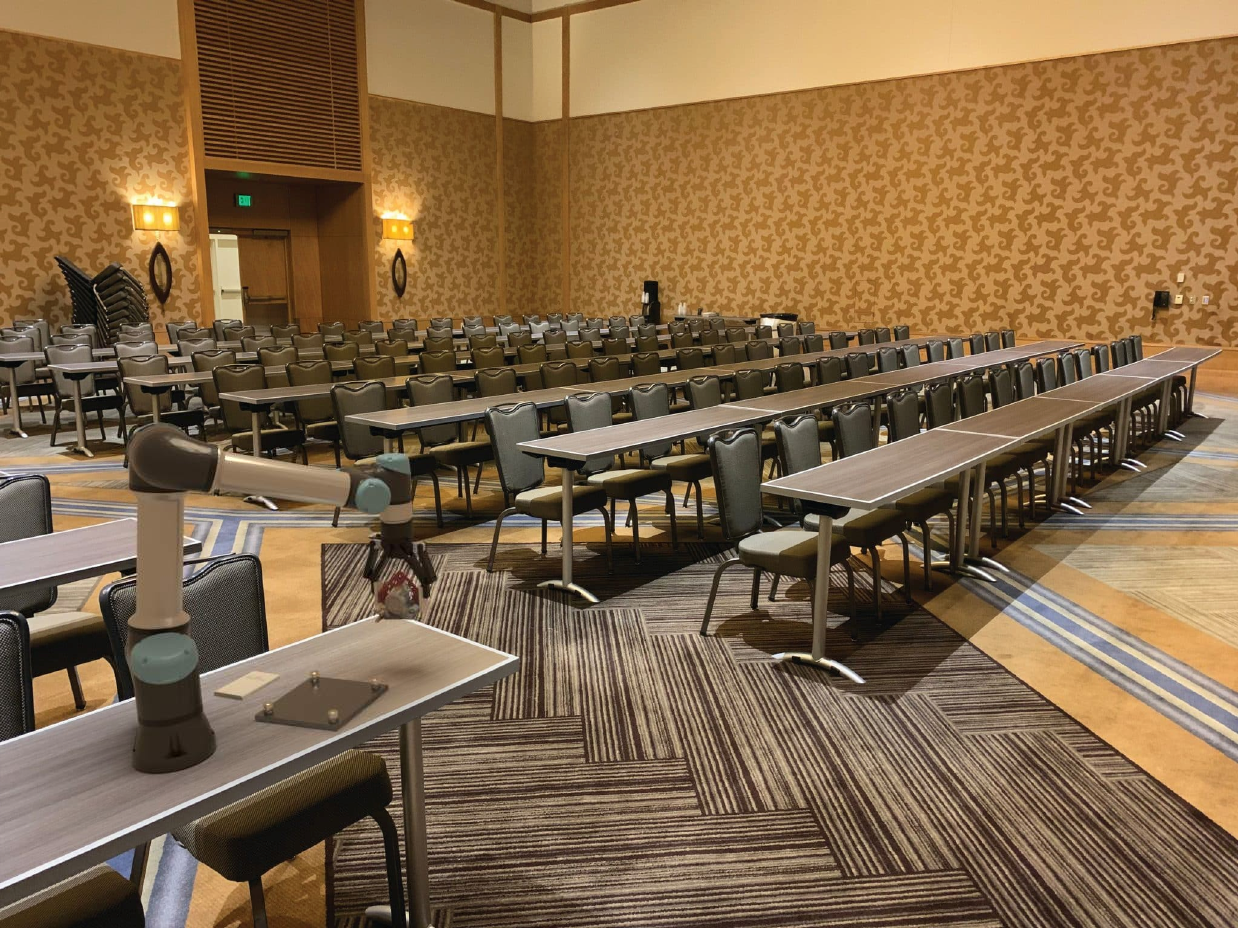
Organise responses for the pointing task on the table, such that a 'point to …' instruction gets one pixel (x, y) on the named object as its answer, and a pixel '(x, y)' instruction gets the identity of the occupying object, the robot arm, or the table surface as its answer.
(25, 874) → the table surface
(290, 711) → the mounting plate
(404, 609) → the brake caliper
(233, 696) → the light wooden board
